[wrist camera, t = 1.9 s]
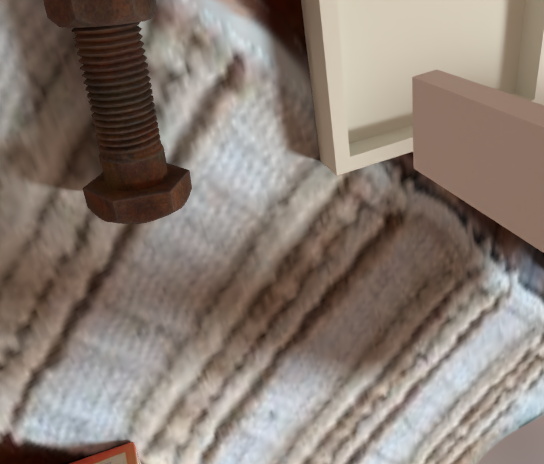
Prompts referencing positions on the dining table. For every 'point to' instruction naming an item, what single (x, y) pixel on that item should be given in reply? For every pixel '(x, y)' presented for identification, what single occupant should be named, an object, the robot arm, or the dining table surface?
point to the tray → (409, 65)
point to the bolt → (122, 111)
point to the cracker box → (114, 456)
